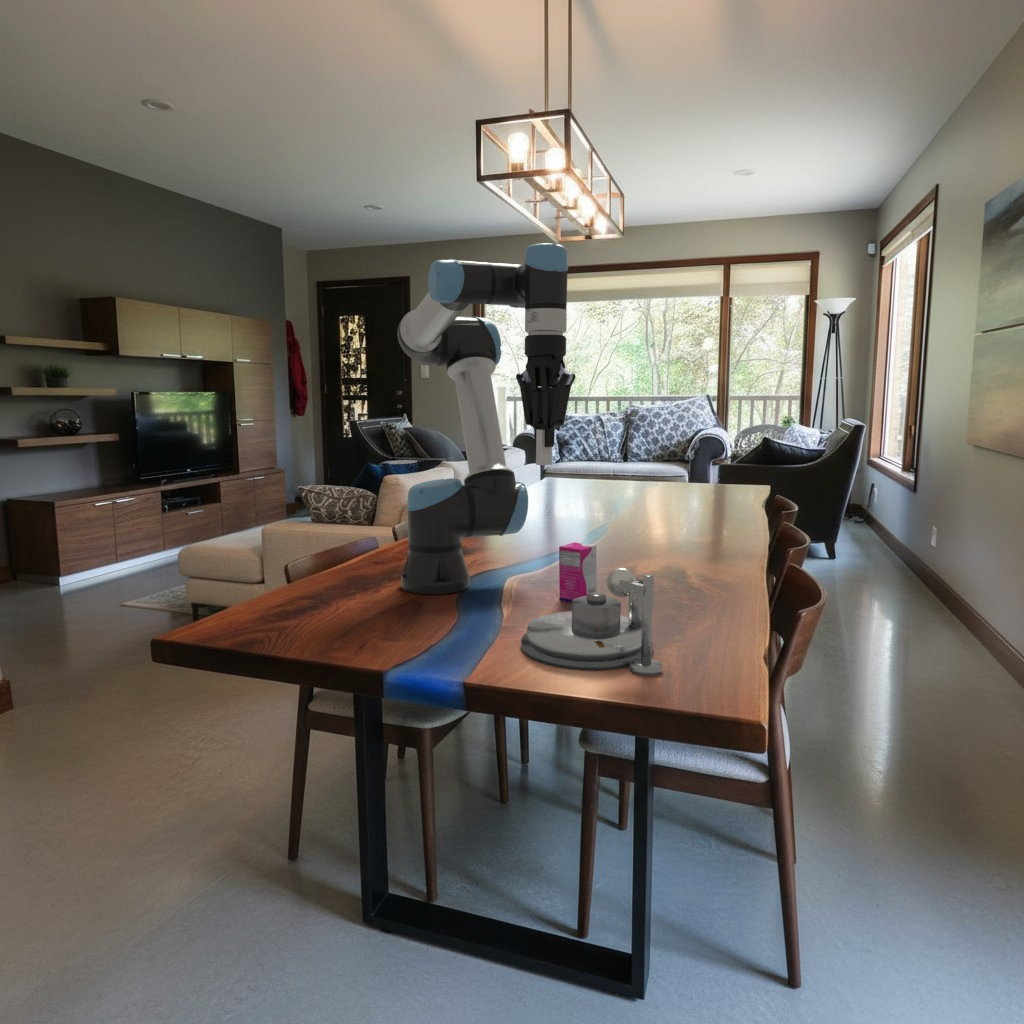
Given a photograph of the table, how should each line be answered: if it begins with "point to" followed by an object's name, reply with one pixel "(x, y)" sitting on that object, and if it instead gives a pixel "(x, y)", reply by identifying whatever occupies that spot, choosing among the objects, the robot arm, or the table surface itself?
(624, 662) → the base
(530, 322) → the robot arm
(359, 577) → the table surface
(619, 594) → the metal lever handle
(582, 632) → the cover
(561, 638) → the turntable
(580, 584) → the supplement box
